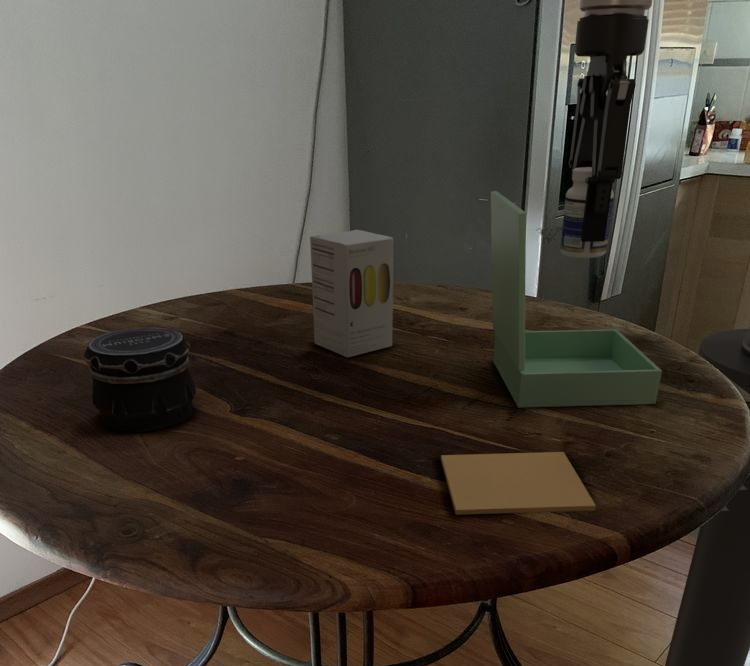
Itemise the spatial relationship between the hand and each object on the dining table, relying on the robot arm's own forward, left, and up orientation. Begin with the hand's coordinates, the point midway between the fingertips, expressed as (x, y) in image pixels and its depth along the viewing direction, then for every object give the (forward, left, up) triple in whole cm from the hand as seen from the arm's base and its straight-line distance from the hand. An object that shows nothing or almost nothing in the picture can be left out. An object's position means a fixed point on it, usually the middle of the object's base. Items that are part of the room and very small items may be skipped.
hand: (585, 235), depth 92 cm
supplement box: (+29, -20, -20) cm, 41 cm away
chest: (-1, -2, -20) cm, 20 cm away
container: (+56, +6, -20) cm, 60 cm away
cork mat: (+13, +27, -20) cm, 36 cm away
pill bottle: (0, 0, -2) cm, 2 cm away
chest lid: (+9, -2, -6) cm, 10 cm away
